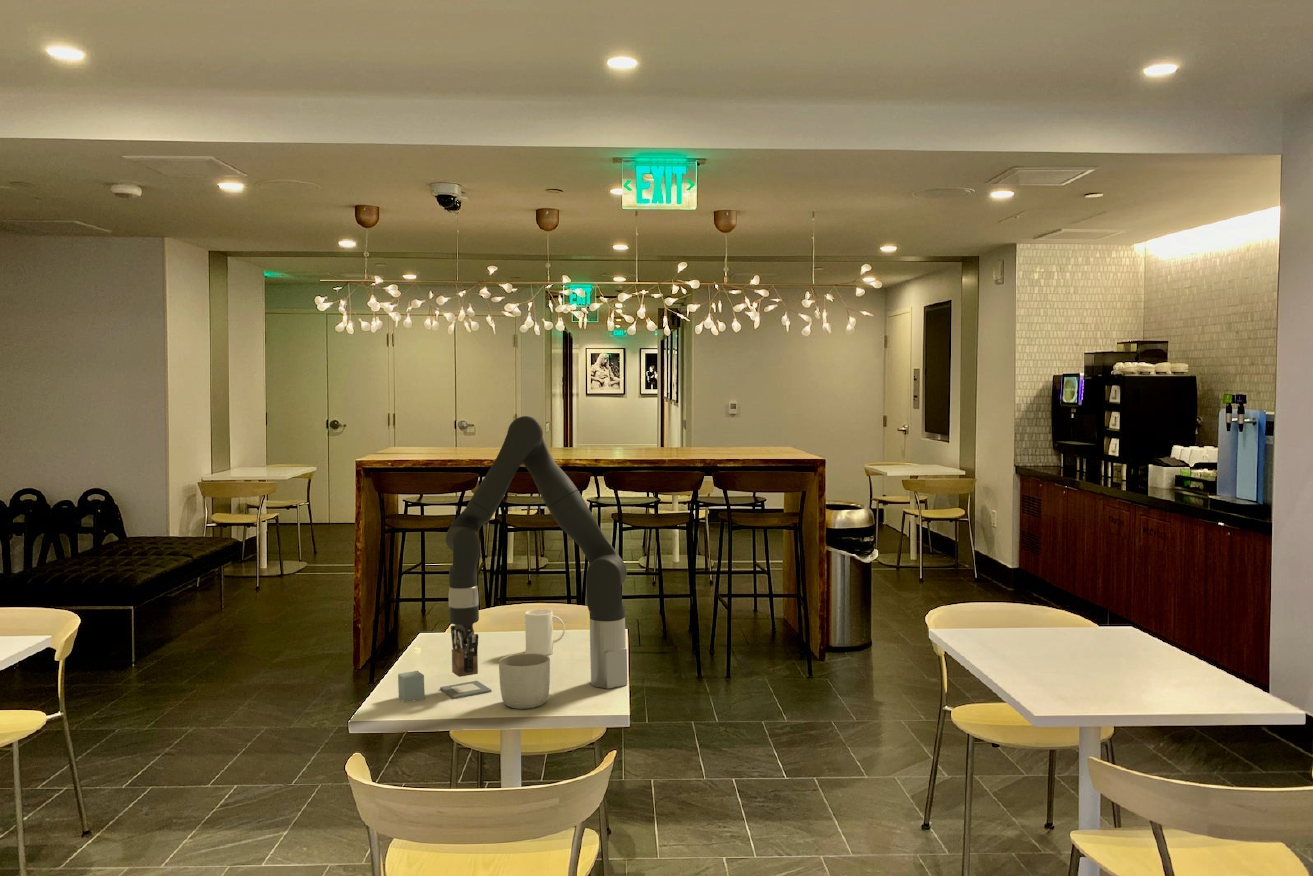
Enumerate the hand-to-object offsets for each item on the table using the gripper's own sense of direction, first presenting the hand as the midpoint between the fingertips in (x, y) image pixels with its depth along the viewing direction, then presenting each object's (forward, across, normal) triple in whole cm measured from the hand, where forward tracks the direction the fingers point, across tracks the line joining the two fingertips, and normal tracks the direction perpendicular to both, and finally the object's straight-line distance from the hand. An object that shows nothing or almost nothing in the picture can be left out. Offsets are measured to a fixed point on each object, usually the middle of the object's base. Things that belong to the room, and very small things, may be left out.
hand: (464, 669), depth 243 cm
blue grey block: (+6, +2, +14) cm, 15 cm away
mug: (+6, +22, -33) cm, 40 cm away
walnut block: (+1, 0, 0) cm, 1 cm away
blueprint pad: (+5, 0, 0) cm, 5 cm away
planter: (+6, -19, -8) cm, 22 cm away
